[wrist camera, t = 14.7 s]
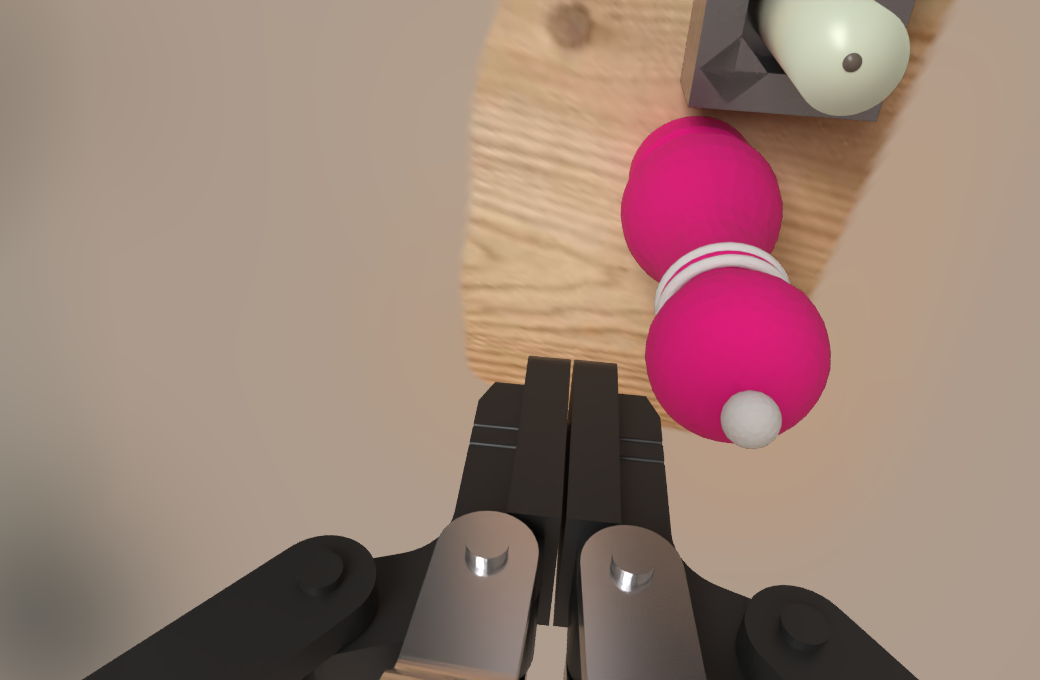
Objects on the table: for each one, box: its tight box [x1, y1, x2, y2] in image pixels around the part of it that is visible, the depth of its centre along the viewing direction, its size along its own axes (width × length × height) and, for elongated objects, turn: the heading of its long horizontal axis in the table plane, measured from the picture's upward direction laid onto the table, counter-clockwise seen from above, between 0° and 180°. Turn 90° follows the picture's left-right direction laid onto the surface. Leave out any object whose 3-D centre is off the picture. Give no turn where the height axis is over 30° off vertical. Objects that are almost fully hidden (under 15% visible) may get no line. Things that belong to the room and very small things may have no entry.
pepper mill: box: [621, 116, 831, 449], centre depth 30 cm, size 7×7×20 cm
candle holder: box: [680, 0, 915, 122], centre depth 32 cm, size 8×8×4 cm
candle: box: [748, 0, 910, 116], centre depth 29 cm, size 4×4×10 cm
